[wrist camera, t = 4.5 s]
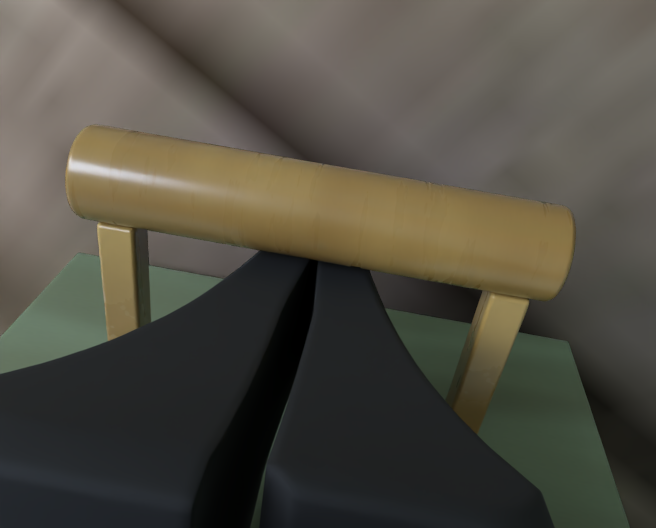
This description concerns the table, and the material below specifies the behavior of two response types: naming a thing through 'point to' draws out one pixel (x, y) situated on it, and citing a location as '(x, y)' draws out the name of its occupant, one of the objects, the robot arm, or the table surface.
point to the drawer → (349, 250)
